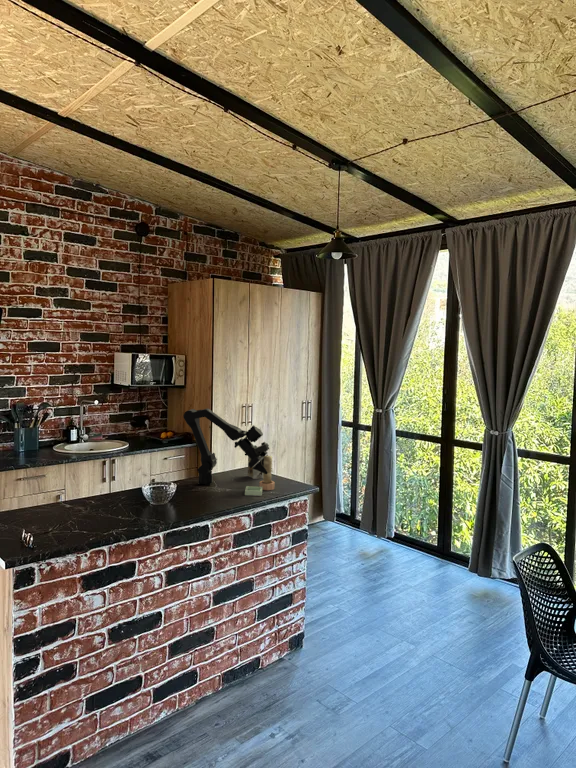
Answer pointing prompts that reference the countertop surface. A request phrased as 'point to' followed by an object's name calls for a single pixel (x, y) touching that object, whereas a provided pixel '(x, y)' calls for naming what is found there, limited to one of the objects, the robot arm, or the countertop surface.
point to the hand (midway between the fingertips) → (269, 471)
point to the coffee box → (254, 472)
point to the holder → (267, 485)
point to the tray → (253, 490)
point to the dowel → (268, 467)
